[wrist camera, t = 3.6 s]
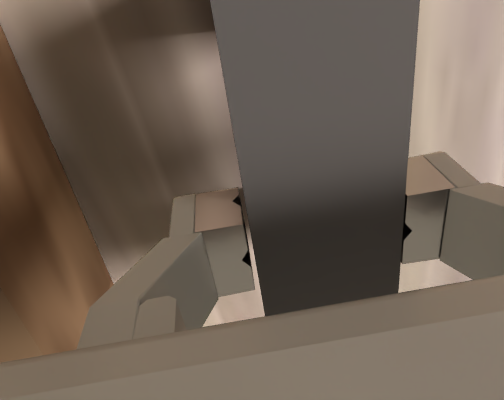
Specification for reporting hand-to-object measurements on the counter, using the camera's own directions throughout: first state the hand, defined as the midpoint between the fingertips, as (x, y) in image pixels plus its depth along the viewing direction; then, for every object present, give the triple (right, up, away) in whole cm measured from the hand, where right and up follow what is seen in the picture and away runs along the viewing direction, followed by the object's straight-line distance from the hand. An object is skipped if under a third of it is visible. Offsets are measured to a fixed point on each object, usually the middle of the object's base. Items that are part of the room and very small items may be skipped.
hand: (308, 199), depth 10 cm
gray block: (-1, +3, +5) cm, 6 cm away
